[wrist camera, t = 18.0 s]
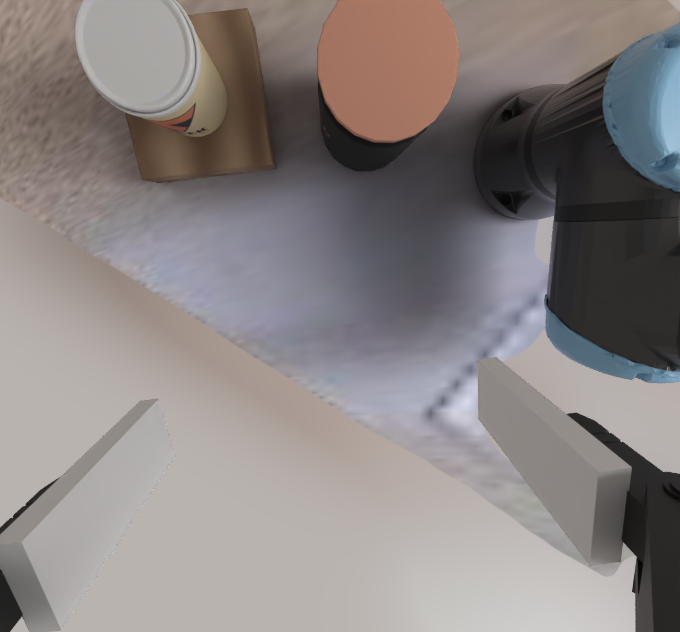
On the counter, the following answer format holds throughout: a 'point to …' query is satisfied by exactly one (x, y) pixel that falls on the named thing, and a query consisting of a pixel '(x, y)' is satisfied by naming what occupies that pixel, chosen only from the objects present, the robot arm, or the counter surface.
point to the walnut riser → (238, 124)
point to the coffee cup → (150, 63)
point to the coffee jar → (383, 76)
